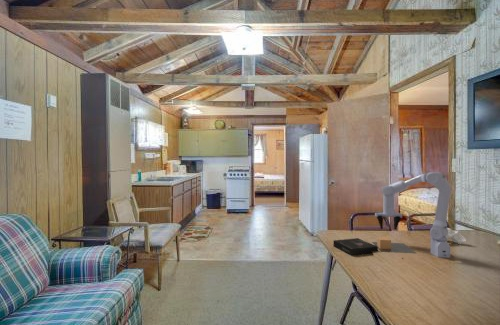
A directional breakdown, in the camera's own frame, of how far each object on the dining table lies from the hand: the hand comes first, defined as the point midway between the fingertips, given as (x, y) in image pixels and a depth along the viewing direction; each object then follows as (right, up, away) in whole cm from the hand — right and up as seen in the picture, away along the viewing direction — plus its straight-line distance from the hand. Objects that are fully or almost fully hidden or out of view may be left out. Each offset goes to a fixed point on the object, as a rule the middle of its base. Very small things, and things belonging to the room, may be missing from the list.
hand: (388, 228), depth 170 cm
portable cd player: (-23, -10, -8) cm, 26 cm away
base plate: (-1, -10, -8) cm, 12 cm away
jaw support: (+39, -10, +5) cm, 40 cm away
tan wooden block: (-6, -9, -8) cm, 13 cm away
